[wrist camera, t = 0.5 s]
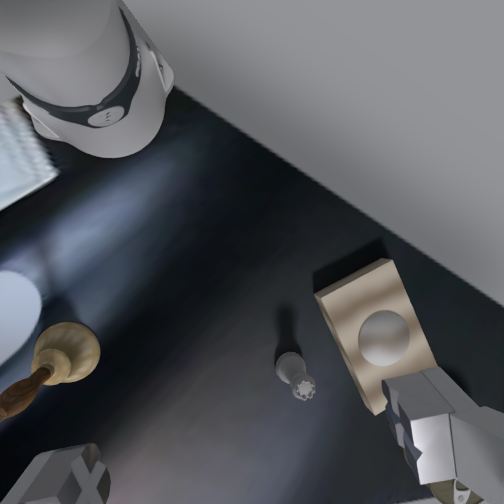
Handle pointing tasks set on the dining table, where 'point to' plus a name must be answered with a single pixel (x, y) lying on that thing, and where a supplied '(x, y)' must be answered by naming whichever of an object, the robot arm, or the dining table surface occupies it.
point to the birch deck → (375, 329)
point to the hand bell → (53, 364)
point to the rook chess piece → (295, 375)
